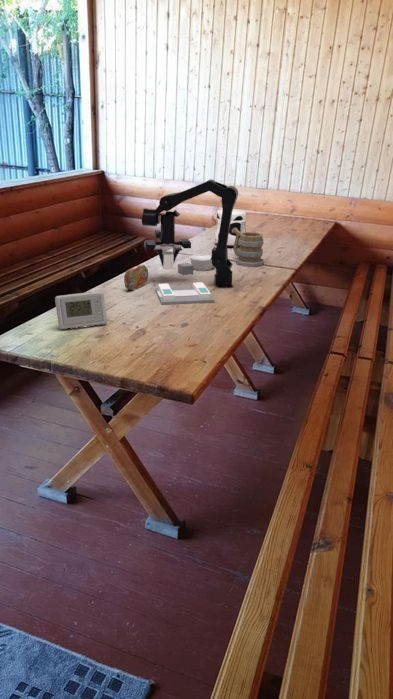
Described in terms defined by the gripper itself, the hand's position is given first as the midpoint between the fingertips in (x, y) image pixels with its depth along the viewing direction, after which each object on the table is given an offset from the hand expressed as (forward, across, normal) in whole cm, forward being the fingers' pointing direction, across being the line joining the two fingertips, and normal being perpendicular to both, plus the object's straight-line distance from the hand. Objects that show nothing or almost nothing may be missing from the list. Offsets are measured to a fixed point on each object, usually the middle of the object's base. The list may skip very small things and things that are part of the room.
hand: (167, 264), depth 229 cm
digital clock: (+7, +36, +47) cm, 60 cm away
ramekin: (+8, -19, -19) cm, 28 cm away
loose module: (+1, 0, 0) cm, 1 cm away
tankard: (+7, -42, -28) cm, 51 cm away
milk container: (+7, -44, -63) cm, 77 cm away
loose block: (+7, -10, -11) cm, 17 cm away
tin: (+7, +14, +7) cm, 17 cm away
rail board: (+7, -3, +21) cm, 22 cm away
